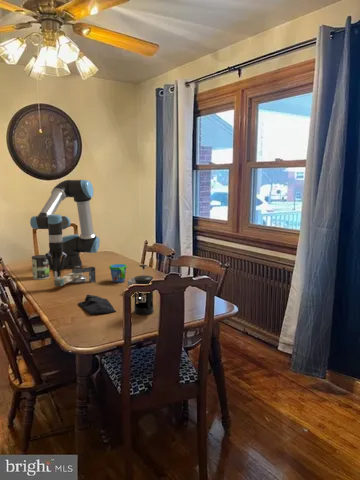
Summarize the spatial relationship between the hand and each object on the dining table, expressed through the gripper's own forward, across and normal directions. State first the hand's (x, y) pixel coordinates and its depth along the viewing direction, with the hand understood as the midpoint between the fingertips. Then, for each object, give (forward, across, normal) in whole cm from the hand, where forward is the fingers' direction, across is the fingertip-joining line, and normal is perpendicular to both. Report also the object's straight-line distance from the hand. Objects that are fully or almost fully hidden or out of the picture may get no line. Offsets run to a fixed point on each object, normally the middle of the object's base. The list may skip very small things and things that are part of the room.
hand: (57, 281), depth 218 cm
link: (+1, +3, +8) cm, 9 cm away
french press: (+4, +62, -25) cm, 67 cm away
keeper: (+4, +9, +15) cm, 18 cm away
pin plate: (+4, +3, +18) cm, 19 cm away
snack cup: (+4, +28, +24) cm, 37 cm away
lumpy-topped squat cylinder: (+4, +49, +6) cm, 49 cm away
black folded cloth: (+5, +37, -25) cm, 45 cm away
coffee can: (+4, -24, +19) cm, 31 cm away
